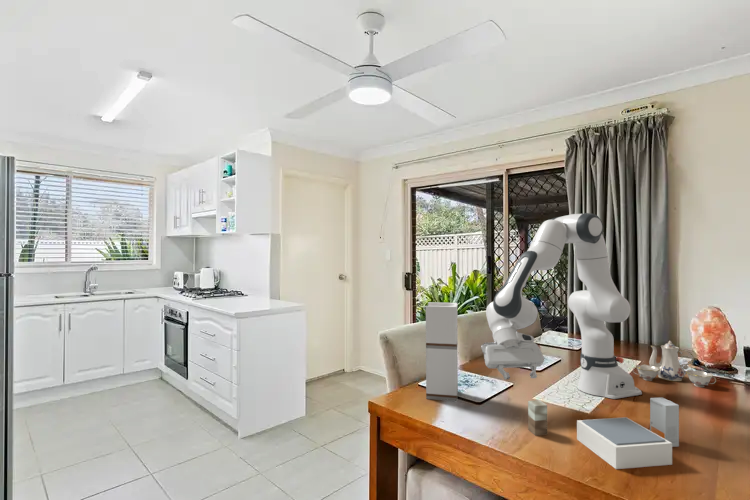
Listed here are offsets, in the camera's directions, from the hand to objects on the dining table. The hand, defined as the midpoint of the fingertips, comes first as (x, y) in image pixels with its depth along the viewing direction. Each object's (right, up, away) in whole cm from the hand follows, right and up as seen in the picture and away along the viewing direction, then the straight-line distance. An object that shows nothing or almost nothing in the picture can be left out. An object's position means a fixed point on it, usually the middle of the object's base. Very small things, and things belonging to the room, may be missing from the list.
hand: (520, 378), depth 133 cm
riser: (+20, -13, -22) cm, 32 cm away
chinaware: (+77, -13, +37) cm, 86 cm away
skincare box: (+36, -13, -17) cm, 42 cm away
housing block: (+2, -13, -10) cm, 17 cm away
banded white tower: (-23, -13, +21) cm, 34 cm away
